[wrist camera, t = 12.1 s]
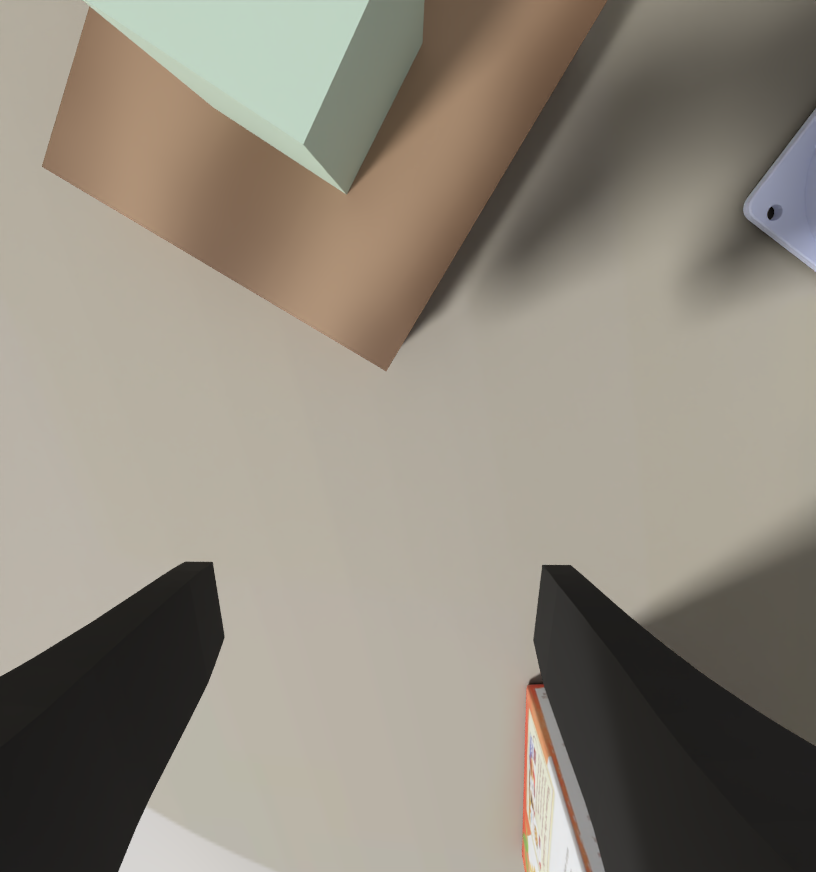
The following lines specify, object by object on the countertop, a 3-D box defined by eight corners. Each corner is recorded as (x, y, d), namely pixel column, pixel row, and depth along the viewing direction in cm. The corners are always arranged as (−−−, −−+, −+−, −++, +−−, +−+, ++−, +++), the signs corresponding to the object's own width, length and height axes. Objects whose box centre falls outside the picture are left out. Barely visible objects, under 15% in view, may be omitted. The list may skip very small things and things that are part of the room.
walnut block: (574, 45, 15) (611, -6, 13) (390, 356, 19) (386, 371, 16) (241, -219, 13) (195, -350, 11) (104, 184, 17) (42, 166, 14)
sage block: (422, 42, 13) (430, -134, 7) (346, 194, 14) (302, 144, 9) (279, -63, 12) (164, -350, 7) (212, 107, 13) (69, -11, 8)
